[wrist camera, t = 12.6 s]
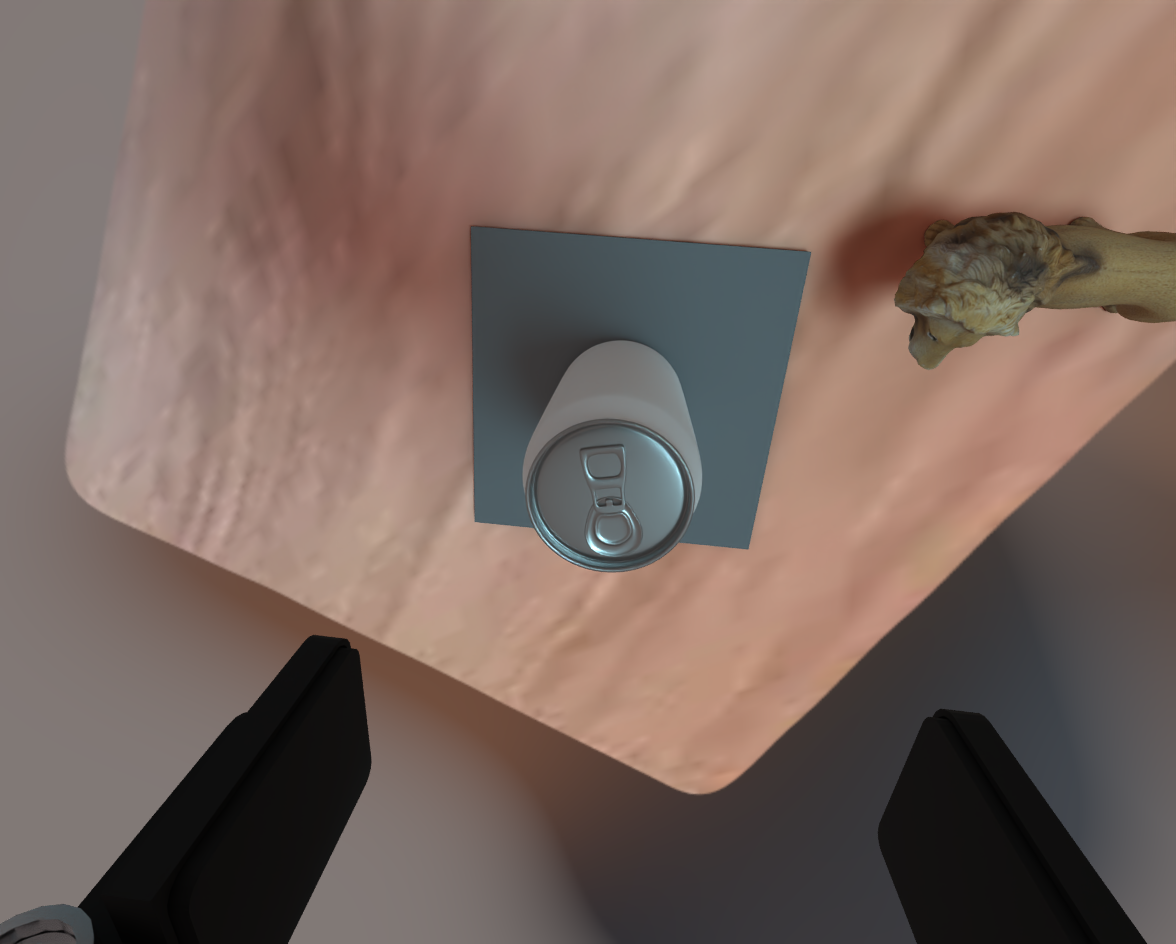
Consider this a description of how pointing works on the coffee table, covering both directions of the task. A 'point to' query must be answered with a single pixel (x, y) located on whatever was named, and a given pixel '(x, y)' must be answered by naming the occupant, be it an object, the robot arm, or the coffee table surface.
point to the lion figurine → (1029, 278)
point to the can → (614, 461)
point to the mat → (639, 314)
